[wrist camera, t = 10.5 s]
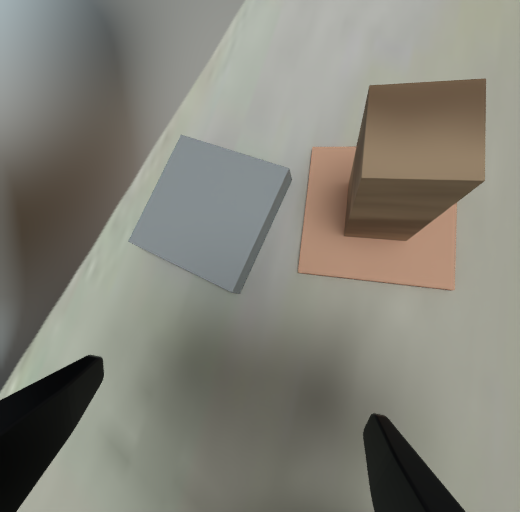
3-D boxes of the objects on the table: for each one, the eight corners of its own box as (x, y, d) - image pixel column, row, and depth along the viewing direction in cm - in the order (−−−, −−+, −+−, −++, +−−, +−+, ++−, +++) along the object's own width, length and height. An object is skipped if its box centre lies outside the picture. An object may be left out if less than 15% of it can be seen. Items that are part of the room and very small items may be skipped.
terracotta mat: (451, 290, 19) (454, 289, 18) (298, 272, 22) (297, 272, 21) (455, 149, 21) (458, 146, 20) (312, 150, 23) (312, 146, 23)
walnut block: (406, 241, 20) (484, 180, 10) (343, 236, 21) (361, 177, 11) (409, 184, 20) (485, 78, 11) (348, 183, 22) (369, 85, 12)
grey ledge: (291, 179, 23) (289, 168, 21) (239, 293, 22) (232, 292, 21) (191, 146, 26) (181, 134, 24) (142, 246, 26) (128, 241, 24)
